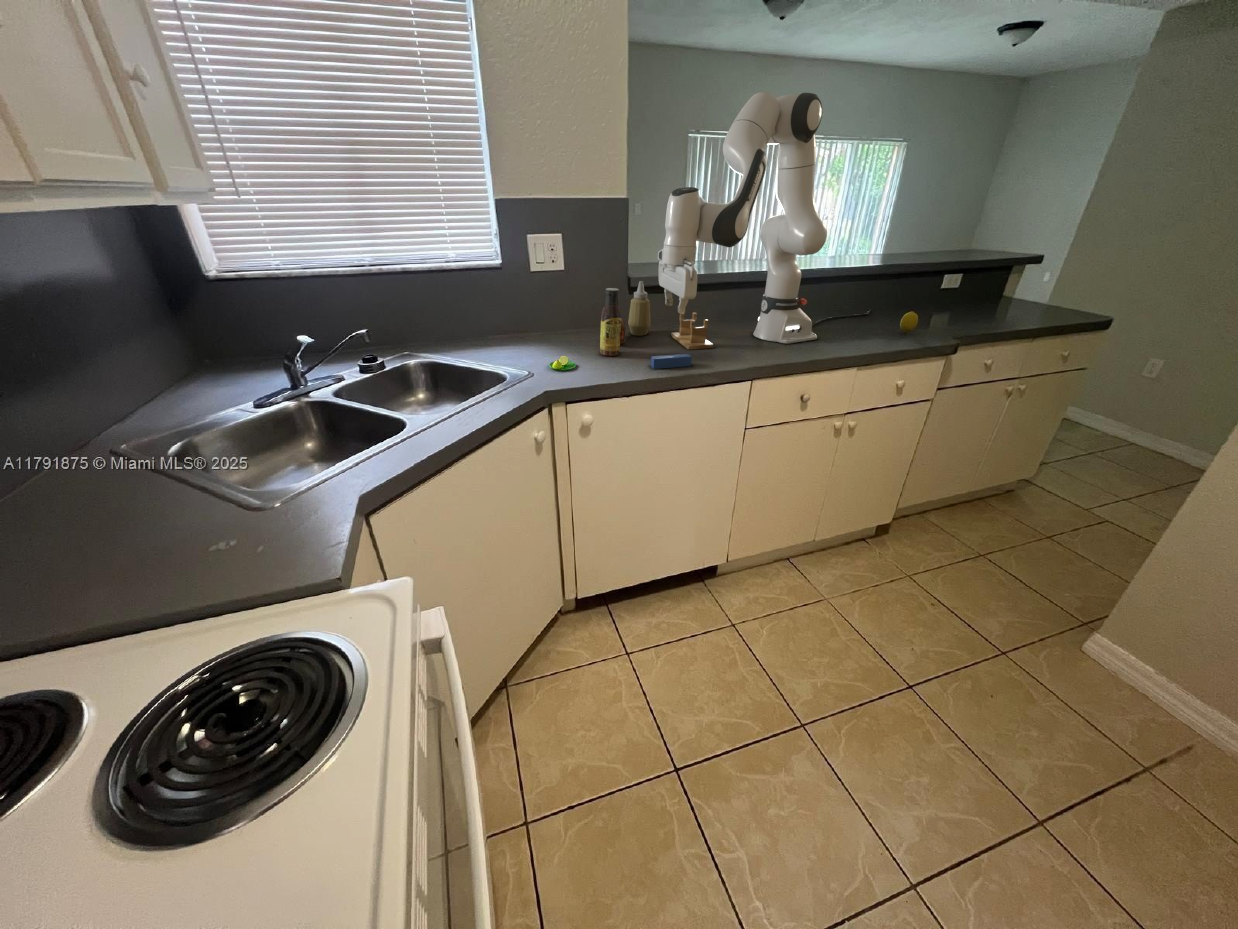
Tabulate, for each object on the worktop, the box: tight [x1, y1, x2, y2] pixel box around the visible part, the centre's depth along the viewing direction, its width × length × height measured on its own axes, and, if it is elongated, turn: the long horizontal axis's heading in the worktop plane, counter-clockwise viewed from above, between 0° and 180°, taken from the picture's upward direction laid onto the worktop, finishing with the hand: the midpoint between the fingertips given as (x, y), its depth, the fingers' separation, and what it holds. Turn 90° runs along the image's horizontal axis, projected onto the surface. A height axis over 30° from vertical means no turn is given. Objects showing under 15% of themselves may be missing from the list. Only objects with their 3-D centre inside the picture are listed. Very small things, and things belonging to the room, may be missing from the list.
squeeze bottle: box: [627, 280, 652, 337], centre depth 171 cm, size 8×8×18 cm
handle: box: [650, 353, 693, 370], centre depth 145 cm, size 12×3×3 cm, turn 106°
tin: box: [620, 318, 627, 345], centre depth 165 cm, size 15×3×8 cm, turn 19°
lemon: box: [899, 311, 919, 334], centre depth 181 cm, size 6×6×8 cm
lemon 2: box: [548, 355, 577, 372], centre depth 143 cm, size 8×8×3 cm
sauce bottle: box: [599, 287, 622, 357], centre depth 150 cm, size 7×6×20 cm
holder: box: [670, 312, 715, 350], centre depth 166 cm, size 16×9×9 cm, turn 16°
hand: (674, 309), depth 138 cm, fingers open, 8 cm apart
